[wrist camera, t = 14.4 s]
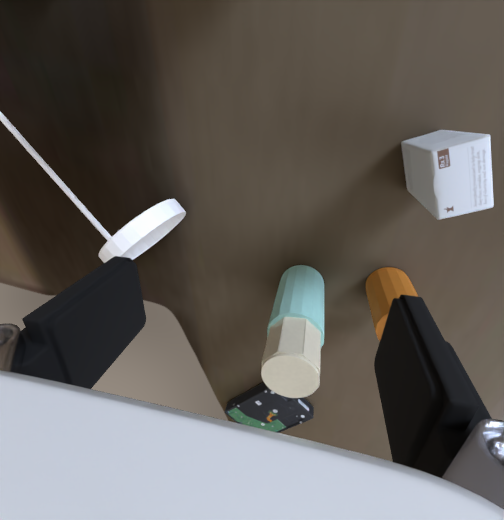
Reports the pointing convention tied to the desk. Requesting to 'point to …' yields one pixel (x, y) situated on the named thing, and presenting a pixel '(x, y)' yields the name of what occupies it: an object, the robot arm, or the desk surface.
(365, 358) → the desk surface
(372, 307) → the amber bottle
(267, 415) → the disk drive
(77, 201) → the desk lamp
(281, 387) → the cream short cylinder
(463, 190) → the cosmetic box
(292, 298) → the bottle
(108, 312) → the robot arm
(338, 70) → the desk surface
